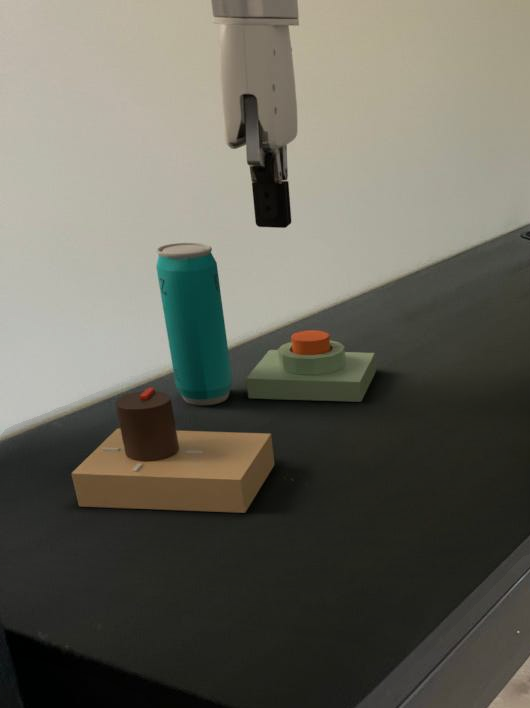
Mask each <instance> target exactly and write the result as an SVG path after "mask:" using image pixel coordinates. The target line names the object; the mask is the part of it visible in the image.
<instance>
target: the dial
mask: <svg viewBox="0 0 530 708" xmlns="http://www.w3.org/2000/svg"><path fill="white" fill-rule="evenodd" d="M114 404H115V409H116V414H117V418H118V424H119V429H121V434H122V439H123V444H124V449H125V454H126V456H127V457H128V458H130V459H133V460H138V461H154V460H160V459H165V458H168V457H170V456H173V455H174V454H176V453H177V452H178V450H179V444H178V438H177V432H176V431H177V427H176V426H177V425H176V421H175V415H174V410H173V402H172V397H171V395H169V394H168V393H166V392H163V391H158V390H156V389H155V387H147V388H146V389H145V390H144V391H134V392H131V393H127V394H124V395H121V396H119V397H118V398H117V399H116V400H115V403H114Z"/></svg>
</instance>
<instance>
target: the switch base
mask: <svg viewBox="0 0 530 708" xmlns="http://www.w3.org/2000/svg"><path fill="white" fill-rule="evenodd" d="M376 364H377V363H376V353H375V352H360V351H358V352H357V351H346V347H345V345H344V344H342V343H341V342H339V341H335V340H331V339H330V352H327V353H324V354H317V355H300V354H295V353H293V350H292V341H290V342H287V343H284V344H281V345H280V347H279V348H278V349H269V350H268V351H267V353H266V354H265V355H264V356H263V357H262V358H261V360H260V361H259V362H258V363H257V364H256V365H255V367H254V368H253V369H252V371H251V372H250V373H249V374H248V376H247V377H246V378H245V381H246V390H247V397H248V399H252V400H257V399H258V400H287V401H317V402H318V401H319V402H347V403H349V402H350V403H361V402H362V401H363V399H364V397H365V395H366V393H367V391H368V389H369V386H370V384H371V383H372V381H373V380H374V379H373V378H374V376H375V375H376V372H377V368H376V367H377V366H376Z"/></svg>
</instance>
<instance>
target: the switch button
mask: <svg viewBox="0 0 530 708" xmlns="http://www.w3.org/2000/svg"><path fill="white" fill-rule="evenodd" d="M290 338H291V342H292V350H293V353H295V354H300V355H317V354H324V353H327V352H330V340H331V339H330V334H329V333H328V332H326V331H322V330H310V329H309V330H301V331H297V332H295V333H292V334H291V337H290Z"/></svg>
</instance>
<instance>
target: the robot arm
mask: <svg viewBox="0 0 530 708" xmlns="http://www.w3.org/2000/svg"><path fill="white" fill-rule="evenodd" d="M298 1H299V0H211V9H212V11H211V12H212V16H213V17H212V19H213V24H214V25H216V24H217V25H219V35H218V36H219V40H218V43H219V45H218V46H219V48H218V49H219V51H218V52H219V53H218V54H219V77H220V80H219V81H220V94H221V108H222V109H221V111H222V122H223V123H222V125H223V136H224V142H225V144H226V145H227V146H228V147H229V149H232V150H236V149H239V148H242V147H244V146H245V152H246V153H245V154H246V163H247V166H249V173H250V179H251V188H252V189H251V190H252V199H253V210H254V211H253V212H254V219H255V220H254V221H255V225H256V226H257V227H259V228H276V229H277V228H278V229H279V228H280V229H286V228H287V227H289V226H290V225H291V224H292V211H291V210H292V208H291V198H290V197H291V195H290V184H289V183H290V182H289V180H288V179H289V170H288V168H289V167H288V146H287V145H288V144H290V143H291V142H293V141H294V140H295V139H296V138H297V136H298V107H297V105H298V103H297V92H296V82H295V81H296V80H295V79H296V78H295V69H294V59H293V48H292V42H291V34H290V28H289V27H290V26H300V19H299V17H300V16H299V3H298Z"/></svg>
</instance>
